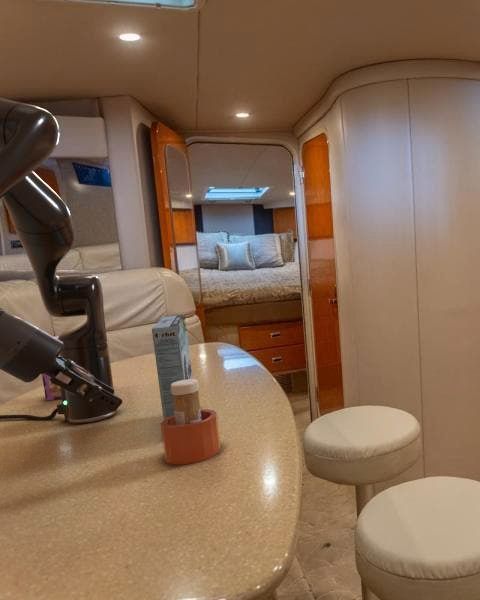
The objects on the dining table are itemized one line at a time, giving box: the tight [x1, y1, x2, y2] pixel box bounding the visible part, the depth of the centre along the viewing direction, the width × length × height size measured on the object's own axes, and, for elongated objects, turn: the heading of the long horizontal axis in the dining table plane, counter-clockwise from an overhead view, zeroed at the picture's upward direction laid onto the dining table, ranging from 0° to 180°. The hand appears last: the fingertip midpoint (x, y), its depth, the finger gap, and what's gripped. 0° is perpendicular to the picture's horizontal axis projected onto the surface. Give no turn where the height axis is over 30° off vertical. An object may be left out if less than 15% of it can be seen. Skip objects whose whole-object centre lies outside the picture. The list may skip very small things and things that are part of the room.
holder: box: [160, 408, 221, 465], centre depth 95 cm, size 9×9×7 cm
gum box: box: [151, 314, 194, 420], centre depth 111 cm, size 20×5×23 cm, turn 23°
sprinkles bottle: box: [171, 378, 202, 425], centre depth 94 cm, size 5×5×14 cm
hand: (114, 400), depth 87 cm, fingers open, 8 cm apart
